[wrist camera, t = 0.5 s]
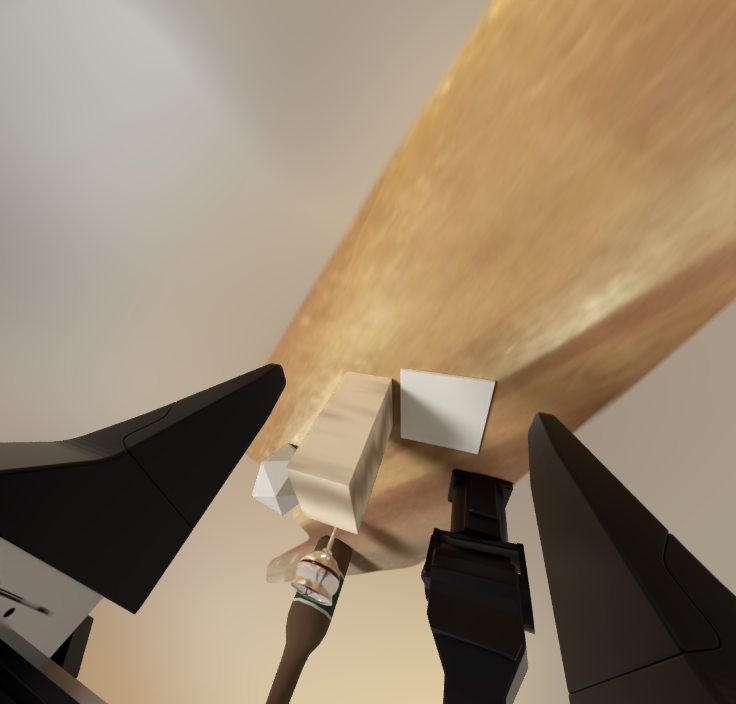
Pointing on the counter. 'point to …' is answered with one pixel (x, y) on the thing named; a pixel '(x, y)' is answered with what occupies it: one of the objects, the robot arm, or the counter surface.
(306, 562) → the wineglass
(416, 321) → the counter surface
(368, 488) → the birch block
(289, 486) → the die
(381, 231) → the counter surface
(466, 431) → the mat
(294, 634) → the beer bottle
